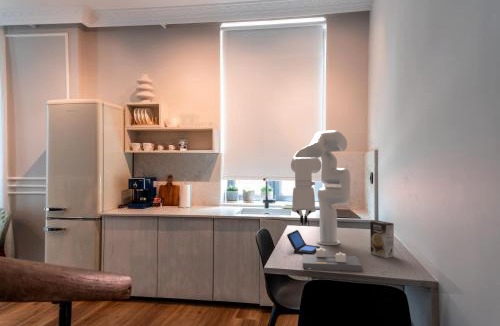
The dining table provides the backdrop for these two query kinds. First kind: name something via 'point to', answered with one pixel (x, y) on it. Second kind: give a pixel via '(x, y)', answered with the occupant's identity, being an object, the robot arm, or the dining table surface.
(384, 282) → the dining table surface
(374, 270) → the dining table surface
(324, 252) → the inner tab
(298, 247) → the handheld game console
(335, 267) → the switch panel
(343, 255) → the white small block
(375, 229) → the coffee box
